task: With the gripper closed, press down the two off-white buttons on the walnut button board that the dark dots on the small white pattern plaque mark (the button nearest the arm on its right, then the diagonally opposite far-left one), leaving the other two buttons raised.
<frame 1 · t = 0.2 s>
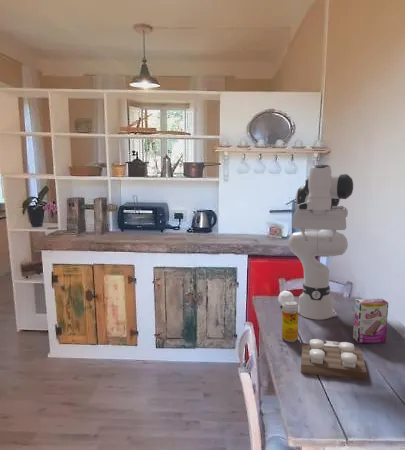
hand: (318, 241, 146), 39 cm above the table, tool pointing down, fingers open, 8 cm apart
button 2: (346, 350, 129), point 4 cm above the table, slide at 0.0 cm
geometric ball: (286, 306, 185), on the table
button 3: (316, 357, 125), point 4 cm above the table, slide at 0.0 cm
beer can: (289, 339, 148), on the table
button board: (331, 364, 127), on the table
button 4: (348, 361, 122), point 4 cm above the table, slide at 0.0 cm
candy bar box: (369, 341, 145), on the table
button 1: (316, 347, 132), point 4 cm above the table, slide at 0.0 cm
pattern plaque: (329, 346, 141), on the table
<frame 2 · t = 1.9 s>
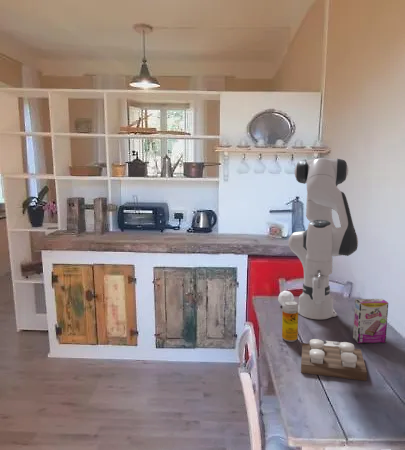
hand: (317, 305, 130), 19 cm above the table, tool pointing down, fingers open, 3 cm apart
nothing on the table moved.
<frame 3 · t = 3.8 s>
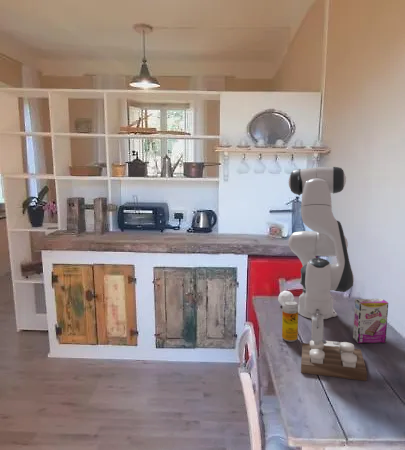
hand: (316, 342, 132), 6 cm above the table, tool pointing down, fingers closed, pressing on button 1
button 1: (316, 348, 132), point 4 cm above the table, slide at 0.3 cm, touching gripper
everything else where it was.
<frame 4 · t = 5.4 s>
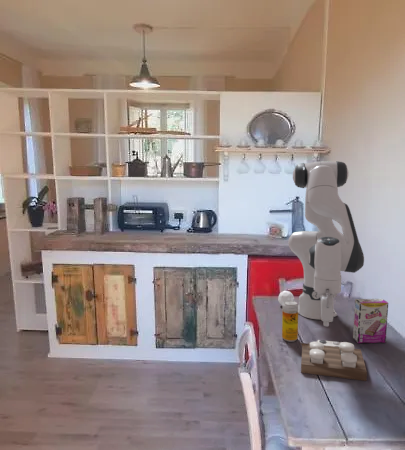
hand: (326, 324, 127), 14 cm above the table, tool pointing down, fingers closed
button 1: (316, 349, 132), point 3 cm above the table, slide at 1.0 cm
everything else where it was.
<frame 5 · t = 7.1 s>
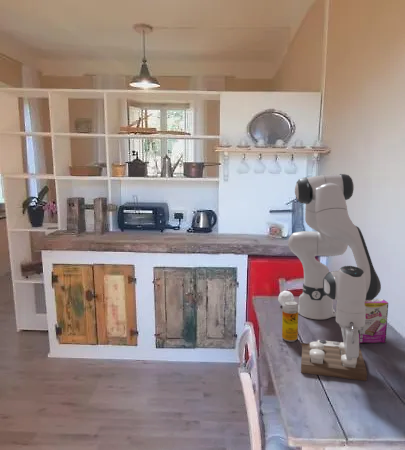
hand: (348, 357, 121), 5 cm above the table, tool pointing down, fingers closed, pressing on button 4
button 4: (348, 363, 122), point 3 cm above the table, slide at 0.7 cm, touching gripper
everything else where it was.
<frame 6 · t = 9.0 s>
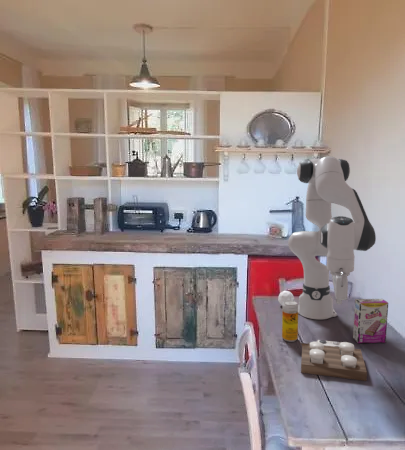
hand: (338, 302, 130), 20 cm above the table, tool pointing down, fingers closed
button 4: (348, 364, 122), point 3 cm above the table, slide at 0.9 cm
everything else where it was.
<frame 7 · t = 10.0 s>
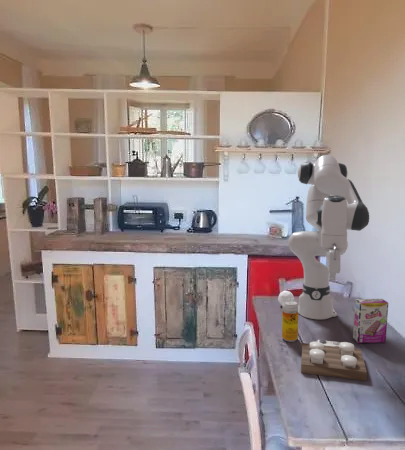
hand: (332, 279, 134), 27 cm above the table, tool pointing down, fingers closed
nothing on the table moved.
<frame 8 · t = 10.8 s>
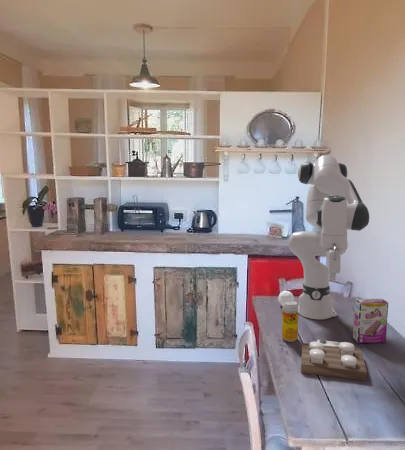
hand: (332, 279, 134), 27 cm above the table, tool pointing down, fingers closed
nothing on the table moved.
at the end: button 1 slide at 1.0 cm; button 4 slide at 0.9 cm; button 2 slide at 0.0 cm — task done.
